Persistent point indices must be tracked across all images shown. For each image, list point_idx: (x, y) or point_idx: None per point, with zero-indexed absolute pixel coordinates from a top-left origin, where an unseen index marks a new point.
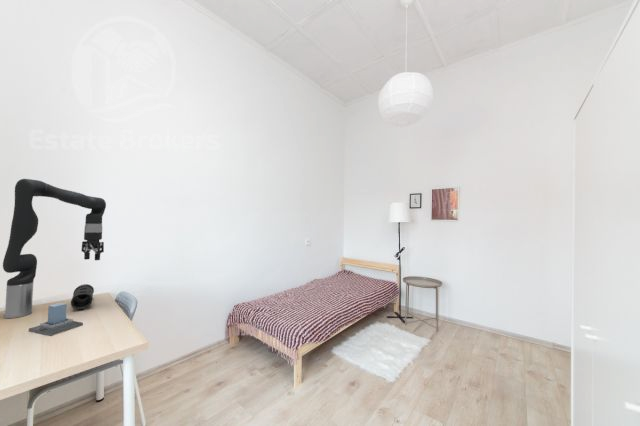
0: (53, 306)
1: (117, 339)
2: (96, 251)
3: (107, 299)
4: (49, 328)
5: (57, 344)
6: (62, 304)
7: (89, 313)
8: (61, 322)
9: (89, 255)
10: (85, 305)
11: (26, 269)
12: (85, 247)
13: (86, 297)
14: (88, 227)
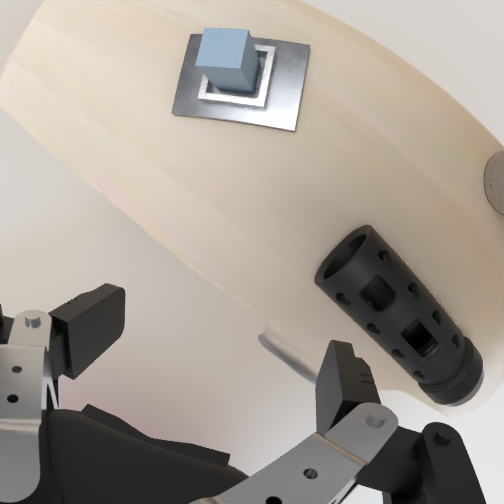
0: (215, 29)
1: (29, 86)
2: (14, 333)
3: None
4: None
5: (125, 20)
6: (205, 54)
7: (269, 219)
8: None
9: (317, 416)
10: (337, 265)
11: None
12: (317, 488)
13: (409, 339)
14: None
